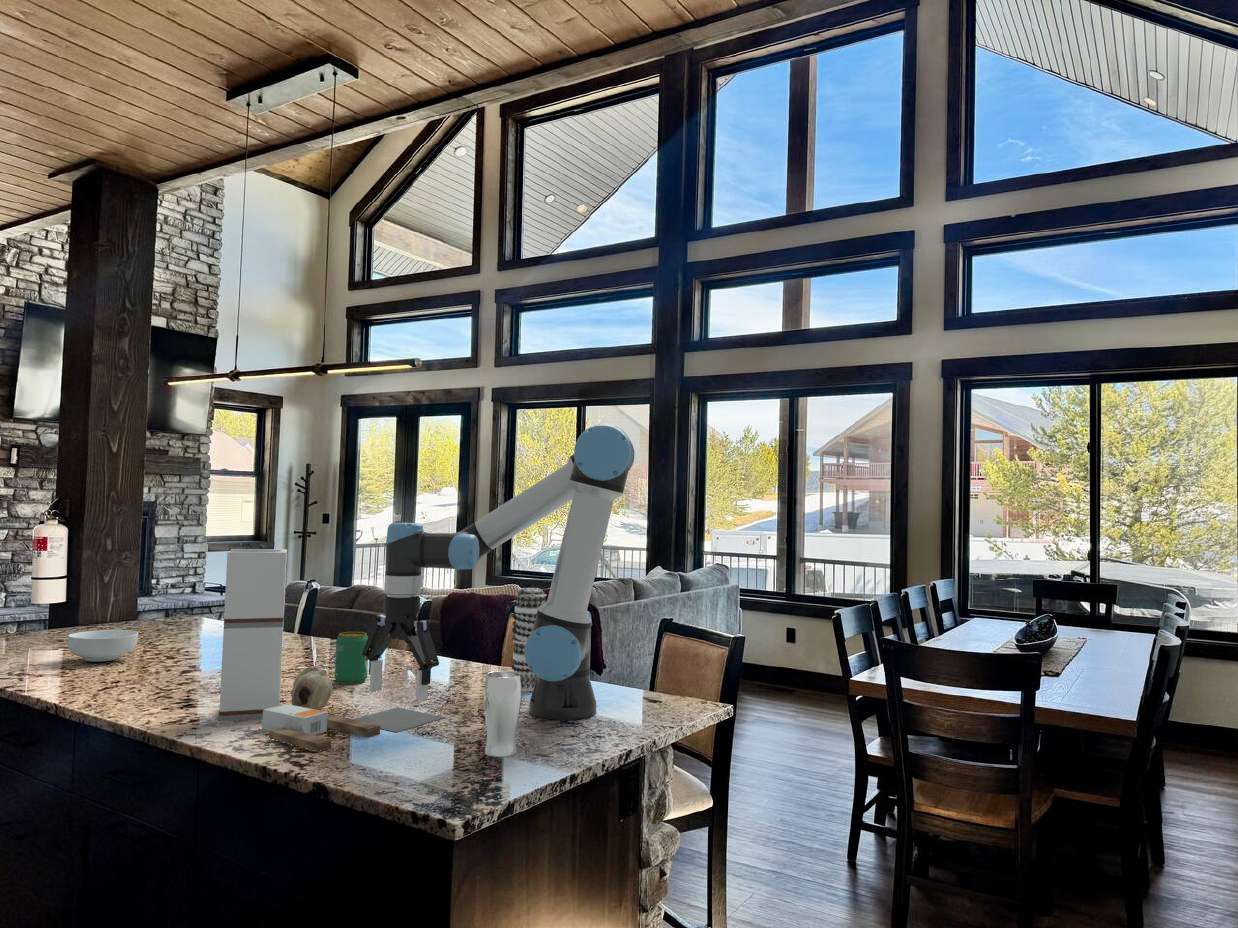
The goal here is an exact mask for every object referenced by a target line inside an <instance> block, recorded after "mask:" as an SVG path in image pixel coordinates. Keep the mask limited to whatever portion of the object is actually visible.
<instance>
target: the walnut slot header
mask: <svg viewBox="0 0 1238 928" xmlns="http://www.w3.org/2000/svg"><path fill="white" fill-rule="evenodd" d="M354 719H355V718H349V717H345V716H340V715H336V714H329V715H327V729H329V730H330V729H331V730H336V731H339V732H343V733H347V734H352V735H357V736H360V737H365V738H371V737H374V736H377V735H378V736H379V735H380V734H381V729H380V725H375V724H371V723H367V722H362V721H358V720H354ZM269 738H270V739H274V740H278V741H282V742H285V743H289V744H292V745H297V746H300V747H303V748H302V749H304V748H308V749H311V750H310V751H312V750H316V751H320V750H323V751H325V750H324V749H327V748H330V747H331V748H332V739H330V738H326V737H322V736H318V735H311V734H307V733H303V732H299V731H295V730H291V729H287V728H283V727H282V728H278V729H274V730H270V731H268V739H269ZM292 745H291V746H292ZM300 747H299V748H300ZM331 748H330V749H331ZM308 749H307V750H308ZM327 750H328V749H327ZM320 752H321V751H320Z"/></svg>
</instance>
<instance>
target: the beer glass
mask: <svg viewBox="0 0 1238 928" xmlns="http://www.w3.org/2000/svg"><path fill="white" fill-rule="evenodd" d="M484 682H485V683H484V692H483V709H484V719H485V724H486V725H485V726H486V733H487V734H486V744H485V749H484V754H485V755H486V756H489V757H494V758H505V757H511V756H514V755H516V754H518V750H517V749H518V748H517V741H516V740H517V739H516V734H517V727H518V722H519V716H520V711H521V705H522V691H521V674H520V673H518V672H515V671H514V670H493V671H489V672H486V674H485V681H484Z"/></svg>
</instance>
